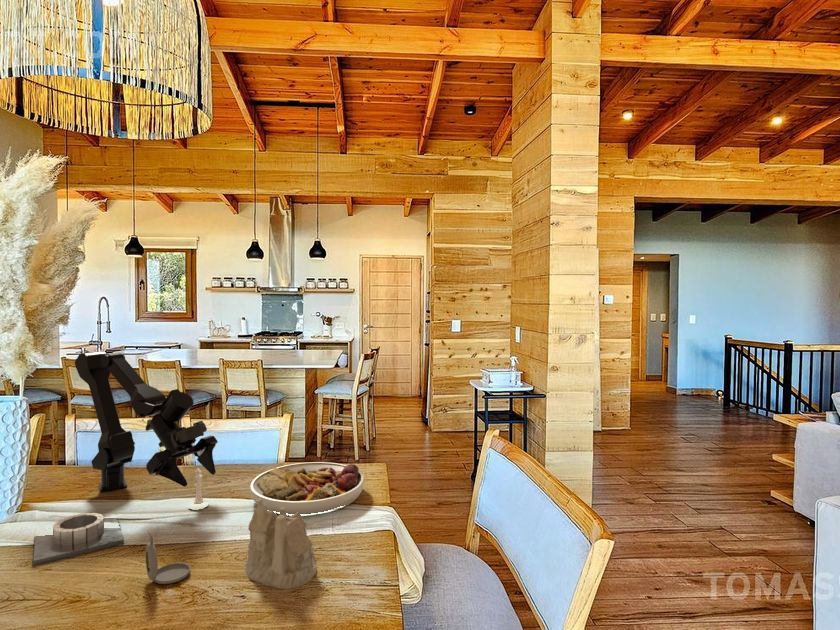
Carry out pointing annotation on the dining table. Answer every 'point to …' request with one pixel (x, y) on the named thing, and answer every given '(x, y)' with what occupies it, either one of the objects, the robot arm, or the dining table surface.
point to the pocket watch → (166, 572)
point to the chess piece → (198, 487)
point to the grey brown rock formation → (279, 549)
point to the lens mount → (76, 538)
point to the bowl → (308, 487)
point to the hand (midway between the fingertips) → (200, 479)
